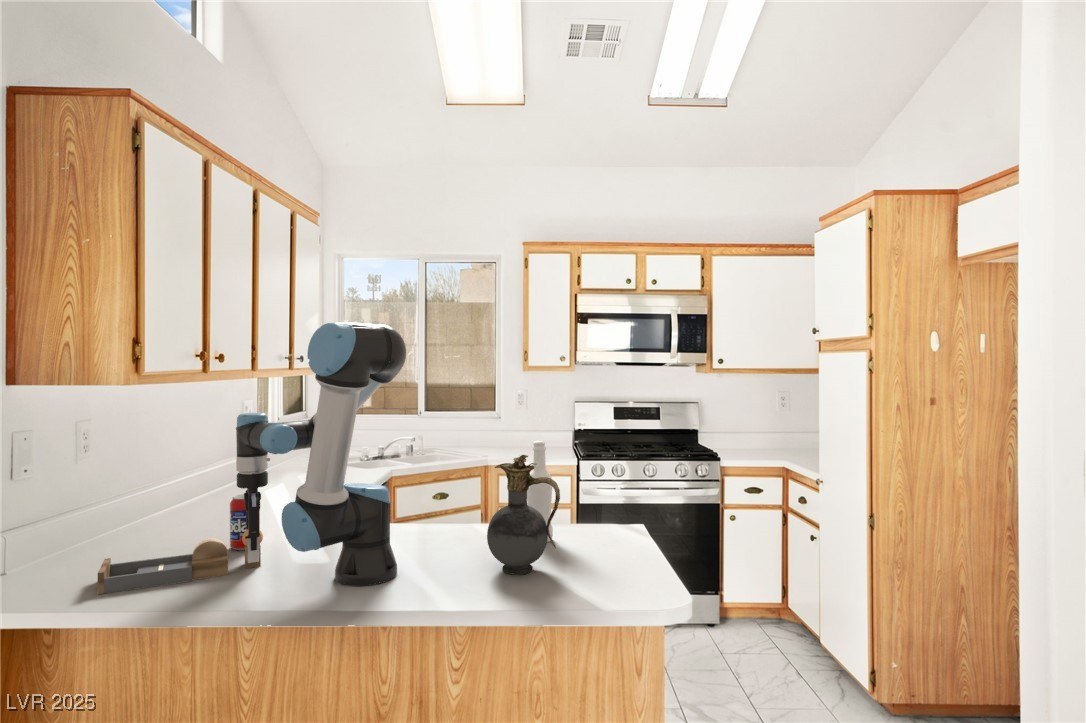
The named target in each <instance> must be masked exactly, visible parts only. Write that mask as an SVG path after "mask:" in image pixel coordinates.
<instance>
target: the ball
mask: <svg viewBox="0 0 1086 723" xmlns="http://www.w3.org/2000/svg"><path fill="white" fill-rule="evenodd" d="M259 533H260V536H259V544H260V545H261V543H262V542H263V540H264V538H263V537H264V534H263V532H262V531H261V529H260V530H259ZM245 536H248V530H246V531H245V532H244V534H243V536H242V541H243V543H244V545H245V546H247V547H248V539H245Z"/></svg>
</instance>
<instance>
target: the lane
mask: <svg viewBox="0 0 1086 723" xmlns="http://www.w3.org/2000/svg"><path fill="white" fill-rule="evenodd" d="M192 556H193V553H189V554H188V553H187V554H179V555H173V556H165V557H156V558H149V559H141V560H133V561H126V562H117V563H111V564H110V577H106V578H104V594H103V595H105V594H110V593H111V594H112V593H117V592H124V591H133V590H138V589H145V588H152V587H157V586H158V587H160V586H167V585H173V584H174V585H175V584H180V583H188V582H192V581H193V580H192Z"/></svg>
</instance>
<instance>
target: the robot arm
mask: <svg viewBox="0 0 1086 723" xmlns="http://www.w3.org/2000/svg"><path fill="white" fill-rule="evenodd" d="M307 359H308V360H309V361H308V366H309V368H310V370H311V372H313V373H314V374H315V375H314V376H315V377H314V378H315V381H316V383H318V384H319V386H320V390H319V395H318V396H319V397H318V400H317V401H318V402H317V407H316V408H317V410H316V412H315V413H314V415H312V416H311V418H310V419H304V420H296V421H295V420H294V421H283V422H269V420H268V415H267V413H265V412H245V413H244V412H243V413H240V414H238V415H237V418H236V427H235V430H236V438H235V439H236V456H235V457H236V459H235V460H236V469H235V470H236V472H237V474H236V487H237V488H239V489H246V490H245V492H244V493H243V494H244V500H245V508H246V529H247V530H248V536H245V539H248V563H253V562H259V536H260V533H259V528H260V529H261V526H260V527H259V510H260V511H261V500H262V493H261V491H259V490H258V489H259V488H264V487H267V485H268V484H269V478H268V477H269V472H268V471H267V470H268V468H269V466H268V465H269V464H268V462H270V461H271V458H270V457H268V454H272V455H285V454H288V453H290V452H292V451H296V450H297V451H298V450H304V449H310V451H309V456H308V458H309V459H308V465H307V471H306V474H305V475H306V477H305V483H303V484H302V485H300V486H299V487H297V489H296V493H295V494H296V495H295V498H294V499H295V500H294V501H290V502H288V503H286V504H285V506H283V509H282V511H281V526H282V530H283V533H284V535H285V539H286V540H287V542H288V543H289V545H290V546H291V547H292V548H293V549H295V550H296V551H298V552H301V553H302V552H304V553H305V552H309V551H318V550H320V549H322V548H326V547H329V546H332V545H336V544H340V543H342V547H341V550H340V554H339V557H338V560H337V563H336V565H335V570H334V580H335V581H336V582H337V583H339V584H341V585H345V586H350V587H364V586H374V585H378V584H383V583H386V582H389V581H391V580H393V579H394V578H395V577H396V576H397V574H398V563H397V560H396V557H395V554H394V552H393V548H392V545H391V503H392V501H391V498H390V497H391V496H390V495H391V494H390V493H391V492H390V489H389V488H388V487H386V486H385V485H381V484H373V483H363V482H362V483H359V482H358V483H355V482H354V483H352V482H350V483H346V484H345V480H346V474H347V469H348V464H349V456H350V451H351V445H352V440H353V434H354V429H355V423H356V418H357V412H358V410H359V409H360V408H361V407H362V406H363V405H364V404H366V402H367V401H368V400H369V399H370V398H371V396H373V395H374V393H375V392H377V390H379V389H380V387H381V386H382V385H385V384H388V383H389V384H390V382H392V381H393V379H395V378H396V376H397V375H398V374H400V372H401V370H402V369H403V367H404V365H405V361H406V360H407V347H406V343H405V341H404V338H403V337H402V335H401V334H400V333H399V332H398V331H397V330H396V329H394V328H393V327H391V326H389V325H386V324H383V323H382V324H381V323H363V322H346V321H339V322H326V323H324V324H322V325H321V326H320V327H318V328H317V329H316V330H315V331H314V333H312V336H311V338H310V340H309V343H308V347H307Z"/></svg>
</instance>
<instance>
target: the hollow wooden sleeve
mask: <svg viewBox="0 0 1086 723" xmlns="http://www.w3.org/2000/svg"><path fill="white" fill-rule="evenodd" d="M261 549H262V548H261V543H260V544H259V562H253V563H248V547H247V546H245V550H244V568H245V569H250V568H257V567H258V568H259V567H261V566H262V565H261V562H262V560H261V558H262V557H261V555H262V554H261V553H262V552H261Z"/></svg>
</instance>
